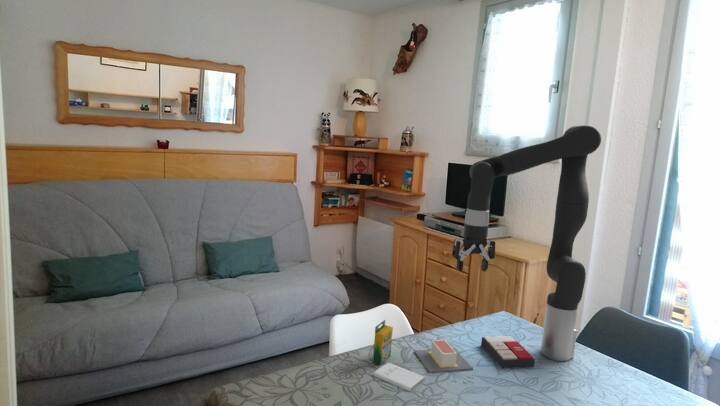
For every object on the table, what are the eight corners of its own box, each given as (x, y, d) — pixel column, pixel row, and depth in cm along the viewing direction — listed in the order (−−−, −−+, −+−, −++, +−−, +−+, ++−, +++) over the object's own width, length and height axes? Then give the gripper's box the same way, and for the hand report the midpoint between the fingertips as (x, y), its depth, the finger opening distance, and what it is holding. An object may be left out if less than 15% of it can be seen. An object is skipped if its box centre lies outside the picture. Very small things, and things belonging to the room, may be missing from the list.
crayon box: (381, 365, 134) (383, 329, 133) (372, 363, 136) (374, 327, 134) (391, 356, 141) (393, 321, 139) (382, 353, 142) (384, 319, 140)
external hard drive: (410, 393, 122) (373, 377, 129) (424, 381, 128) (388, 366, 135) (410, 388, 121) (373, 371, 129) (425, 376, 128) (388, 361, 135)
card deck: (455, 365, 136) (456, 352, 136) (441, 366, 135) (442, 353, 134) (443, 351, 145) (444, 339, 144) (430, 352, 144) (431, 340, 143)
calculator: (503, 358, 137) (481, 334, 151) (501, 371, 137) (480, 346, 152) (535, 357, 139) (511, 334, 153) (533, 370, 139) (510, 345, 154)
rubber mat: (454, 349, 148) (454, 347, 148) (472, 369, 135) (473, 367, 135) (414, 351, 144) (414, 350, 144) (429, 372, 132) (429, 370, 132)
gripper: (461, 225, 140) (457, 274, 142) (502, 225, 143) (497, 274, 146) (451, 220, 147) (447, 268, 149) (490, 221, 151) (485, 267, 153)
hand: (471, 271), depth 148 cm, fingers open, 8 cm apart
